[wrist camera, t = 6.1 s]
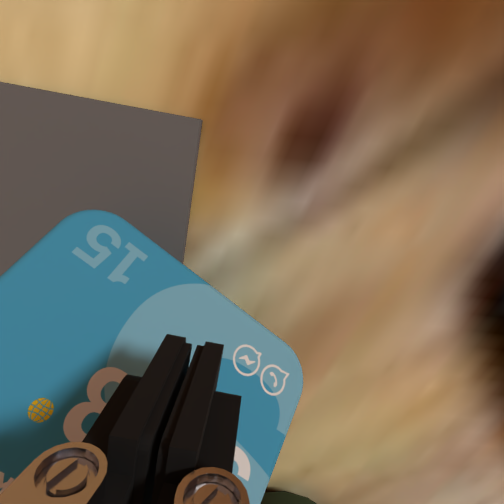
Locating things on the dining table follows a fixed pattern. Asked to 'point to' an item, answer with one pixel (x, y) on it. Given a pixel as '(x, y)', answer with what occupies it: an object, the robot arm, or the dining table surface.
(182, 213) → the mat
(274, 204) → the dining table surface
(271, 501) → the character mug
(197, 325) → the data package
